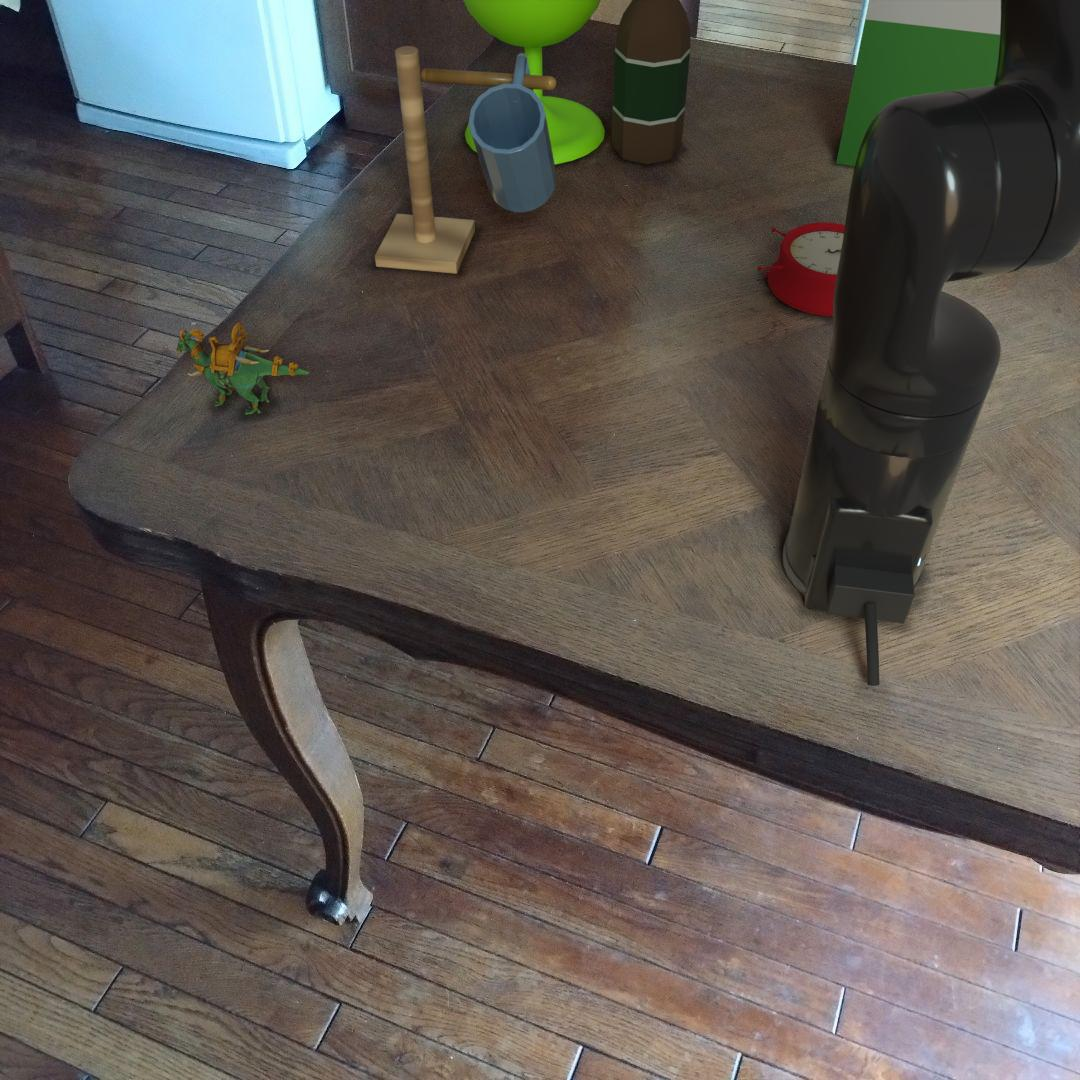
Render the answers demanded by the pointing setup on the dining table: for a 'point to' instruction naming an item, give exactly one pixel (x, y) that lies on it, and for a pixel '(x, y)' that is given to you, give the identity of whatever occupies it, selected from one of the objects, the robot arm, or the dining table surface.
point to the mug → (514, 143)
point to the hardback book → (918, 57)
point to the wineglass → (533, 22)
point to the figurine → (234, 366)
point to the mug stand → (422, 234)
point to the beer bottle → (650, 80)
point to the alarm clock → (807, 267)
